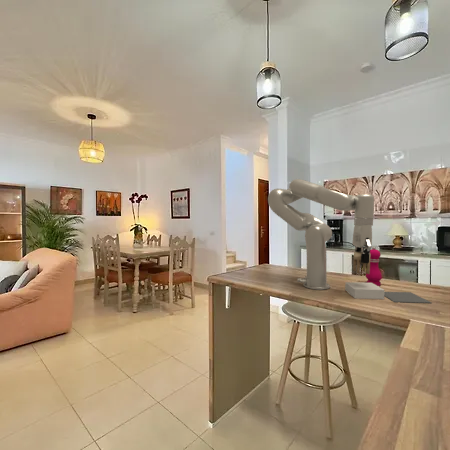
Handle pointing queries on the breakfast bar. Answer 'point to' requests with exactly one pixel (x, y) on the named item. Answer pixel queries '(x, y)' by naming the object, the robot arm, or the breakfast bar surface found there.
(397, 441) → the breakfast bar surface
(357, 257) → the stool
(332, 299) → the breakfast bar surface
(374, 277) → the pepper mill
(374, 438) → the breakfast bar surface
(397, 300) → the mat
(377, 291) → the step
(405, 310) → the breakfast bar surface
